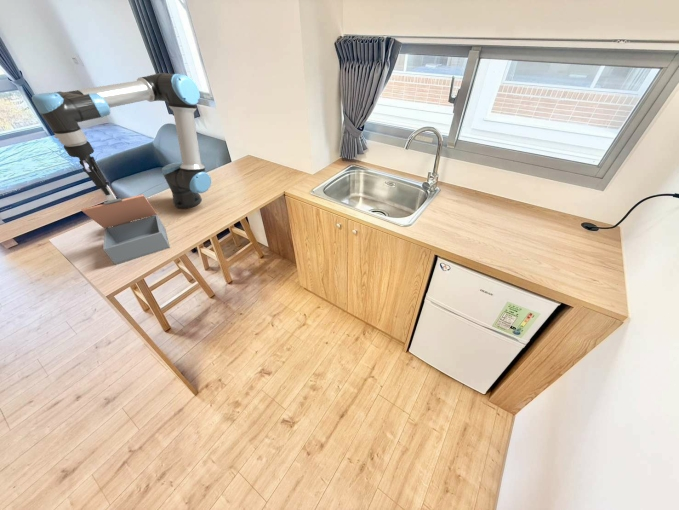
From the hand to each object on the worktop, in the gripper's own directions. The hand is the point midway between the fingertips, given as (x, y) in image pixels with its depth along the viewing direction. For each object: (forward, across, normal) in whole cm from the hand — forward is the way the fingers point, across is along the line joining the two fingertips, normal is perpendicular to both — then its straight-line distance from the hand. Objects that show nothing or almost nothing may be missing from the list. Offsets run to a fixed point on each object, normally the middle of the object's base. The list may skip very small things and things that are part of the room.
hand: (112, 200), depth 111 cm
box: (+25, 0, 0) cm, 25 cm away
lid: (+8, -3, 0) cm, 8 cm away
